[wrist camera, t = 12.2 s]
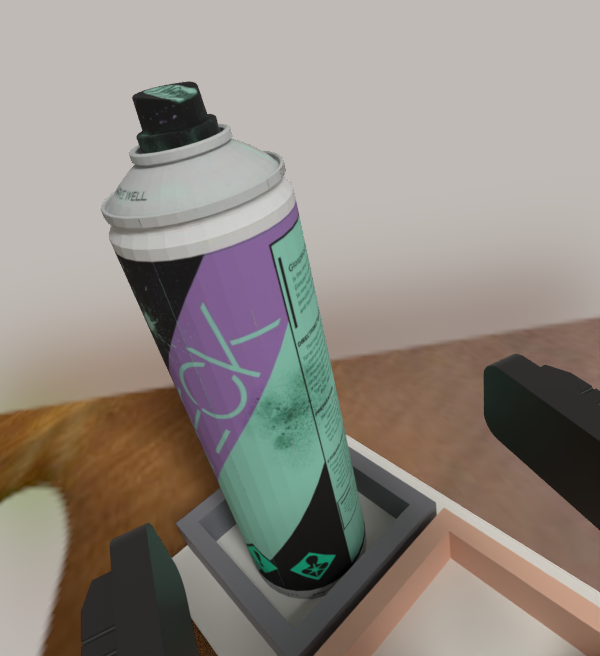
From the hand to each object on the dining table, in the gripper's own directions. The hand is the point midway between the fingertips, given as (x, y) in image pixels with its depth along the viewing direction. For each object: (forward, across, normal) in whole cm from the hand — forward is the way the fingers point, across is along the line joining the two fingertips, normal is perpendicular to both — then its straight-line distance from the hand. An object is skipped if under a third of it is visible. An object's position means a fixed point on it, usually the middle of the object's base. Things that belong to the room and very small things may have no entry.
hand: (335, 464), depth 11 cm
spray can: (+7, 0, +13) cm, 15 cm away
